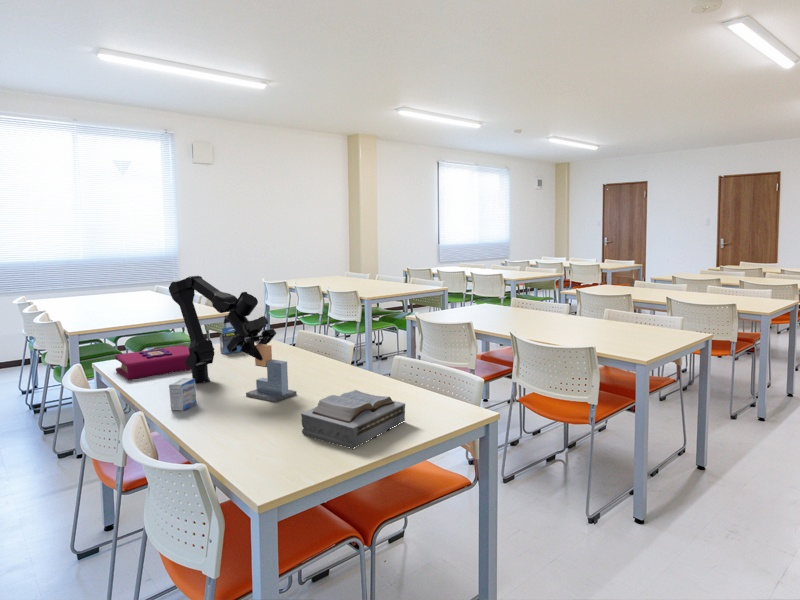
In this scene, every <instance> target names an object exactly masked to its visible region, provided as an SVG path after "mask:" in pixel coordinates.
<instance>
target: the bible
mask: <svg viewBox="0 0 800 600" xmlns="http://www.w3.org/2000/svg"><path fill="white" fill-rule="evenodd" d="M405 413H406V403H404V402H401V401H397V400H392V398H391V397H390V396H382V395H375V394H370V393H367V392H363V391H360V390H357V389H354V390H351V391H348V392H344V393H342V394H340V395H335V394H332V395H328V396H325V397H324V398H321V399H319V400H318V403H317V405H316V406H314V407H313V408H310V409H308V410H305V411H303V412H301V413H300V415H301V426H302V429H301V433H302V435H303V434H304V435H303V436H305V435H306V437H308V436H309V438H311V437H312V438H311V439H315V438H316V440H318V439H319V441H322V440H323V441H322V442H325V441H326V443H329V442H330V443H329V444H332V443H334V444H333V445H336V444H338V445H337V446H339V445H342V446H346V447H350V448H354V447H356V446H358V445H360V444H362V443H364V442H366V441H368V440H370V439H371V438H373V439H374V438H376V437H375V436H377V435H379V434H381V433H383V434H384V432H385V431H386V432H387V430H388V429H389V430H390V428H392V427H394V426H396V425H398V424H399V423H401V422H403V421H405V422H406V414H405ZM386 432H385V433H386ZM364 444H365V443H364ZM342 446H341V447H342ZM346 447H345V448H346ZM350 448H349V449H350Z"/></svg>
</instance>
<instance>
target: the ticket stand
mask: <svg viewBox="0 0 800 600" xmlns="http://www.w3.org/2000/svg"><path fill="white" fill-rule="evenodd" d="M266 375H267V377H260V378H258V379H257V378H256V379H255V383H256V384H255V385H256V389H253V390H250V391H248V392H245V397H249V398H253V399H257V400H262V401H267V402H271V403H279V402H281V401H284V400H286V399H289V398H291V397H294V396H296V395H297V394H298V393H297V391H296V390H293V389H289V377H288V361H287V360H286V361H284V360H279V359H273V358H272V360H269V361H267V367H266Z"/></svg>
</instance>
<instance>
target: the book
mask: <svg viewBox="0 0 800 600" xmlns="http://www.w3.org/2000/svg"><path fill="white" fill-rule="evenodd" d="M189 355H190V353H189V347H188V346H186V345H183V344H182V345H181V344H180V345H174V346H168V347H161V348H156V349H149V350H148V349H147V350H141V351H136V352H135V351H133V352H127V353H126V352H125V353H119V354H114V359H115V360H116V361H118V362H120V363H121V366H119V367H116V368H115V372H116V371H117V372H116V373H118V374H119V375H121V376H122V377H123V378H125V380H127V381H133V380H139V379H143V378H144V379H145V378H149V377H150V376H151V377H155V376H160V375H161V376H162V375H167V373H168V374H173V372H174V373H179V372H185V371H192V368H191V367H186V364H185V360H186V359H187V358H188V356H189Z"/></svg>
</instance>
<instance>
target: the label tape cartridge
mask: <svg viewBox="0 0 800 600" xmlns="http://www.w3.org/2000/svg"><path fill="white" fill-rule="evenodd" d="M221 330H222V331H221V334H220V335H219V347H220V348H219V349H220V354H221V355H228V354H233V353H238V352H239V353H241V352H240V350H241V349H242V348H241V346H236V347H237V351H236V352H232V353H230V352H229V351H228V349H227V345H228V343H229V342H230V340H231V339H232V338H233V337H236V336H239V335H235V334H234V332H235V330H234V328H233V327H232V326H228V327H223V328H221Z"/></svg>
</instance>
